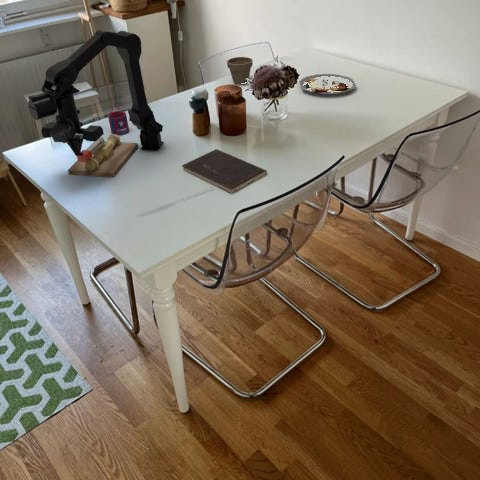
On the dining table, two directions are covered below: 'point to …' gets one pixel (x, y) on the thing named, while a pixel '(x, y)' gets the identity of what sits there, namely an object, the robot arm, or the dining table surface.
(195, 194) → the butter knife
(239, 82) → the flower pot
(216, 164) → the hardcover book
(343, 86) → the food plate
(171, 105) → the dining table surface
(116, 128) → the mug
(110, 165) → the valve board
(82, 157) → the lever
